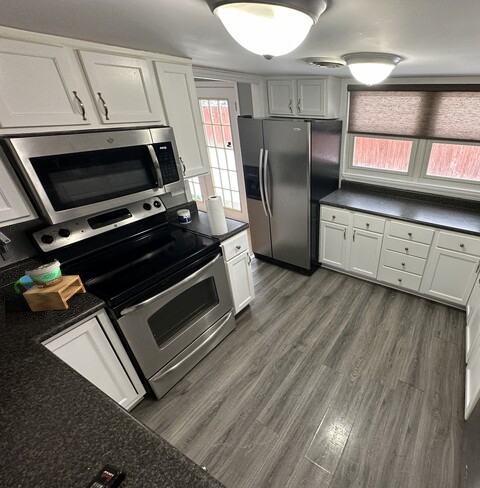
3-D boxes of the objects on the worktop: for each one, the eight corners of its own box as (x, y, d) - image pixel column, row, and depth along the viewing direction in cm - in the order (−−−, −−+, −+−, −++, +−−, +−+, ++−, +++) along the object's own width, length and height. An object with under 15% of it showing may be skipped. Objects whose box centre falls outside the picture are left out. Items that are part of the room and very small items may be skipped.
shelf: (32, 311, 122) (22, 293, 118) (54, 293, 135) (46, 277, 130) (66, 308, 124) (58, 291, 120) (85, 291, 137) (78, 275, 133)
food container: (43, 292, 119) (33, 273, 115) (33, 289, 121) (23, 271, 116) (73, 278, 130) (65, 260, 126) (64, 276, 131) (55, 258, 127)
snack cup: (17, 303, 127) (6, 285, 123) (25, 291, 135) (16, 275, 131) (60, 294, 134) (51, 277, 130) (65, 284, 142) (58, 267, 138)
